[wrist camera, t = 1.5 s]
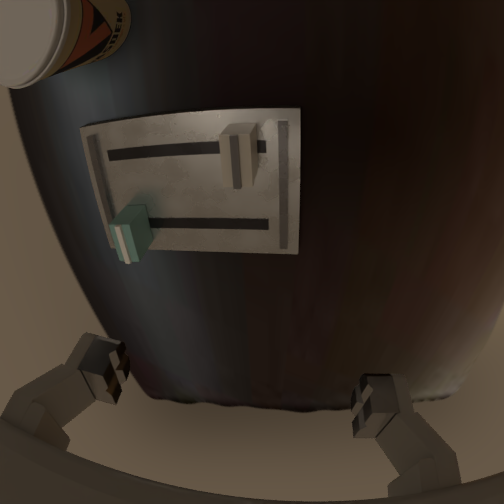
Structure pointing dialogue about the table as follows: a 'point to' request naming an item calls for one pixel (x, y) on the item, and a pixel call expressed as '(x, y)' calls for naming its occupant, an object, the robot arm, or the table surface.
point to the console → (199, 178)
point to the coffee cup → (57, 36)
